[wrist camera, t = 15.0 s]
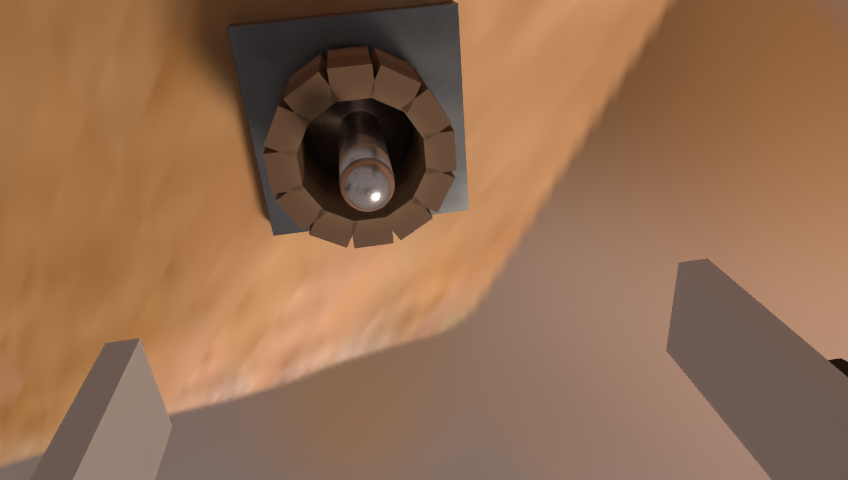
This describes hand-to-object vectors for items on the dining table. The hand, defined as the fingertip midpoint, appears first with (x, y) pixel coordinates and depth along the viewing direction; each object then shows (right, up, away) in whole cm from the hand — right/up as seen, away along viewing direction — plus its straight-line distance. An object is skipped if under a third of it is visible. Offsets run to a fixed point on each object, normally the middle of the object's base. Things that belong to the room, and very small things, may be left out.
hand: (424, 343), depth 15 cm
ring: (-4, +9, +18) cm, 20 cm away
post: (-4, +9, +20) cm, 22 cm away
